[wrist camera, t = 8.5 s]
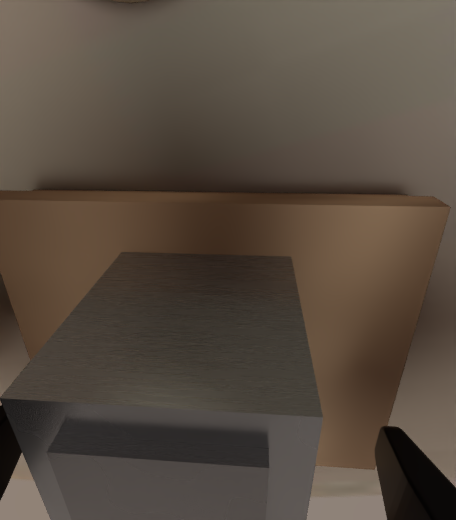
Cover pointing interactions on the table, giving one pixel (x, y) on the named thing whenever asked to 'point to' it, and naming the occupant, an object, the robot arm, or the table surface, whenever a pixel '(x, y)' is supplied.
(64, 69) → the table surface
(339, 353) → the tan flat board
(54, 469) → the housing
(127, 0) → the cream rounded piece
